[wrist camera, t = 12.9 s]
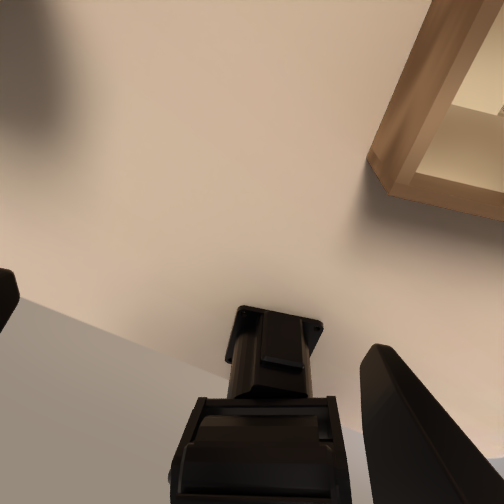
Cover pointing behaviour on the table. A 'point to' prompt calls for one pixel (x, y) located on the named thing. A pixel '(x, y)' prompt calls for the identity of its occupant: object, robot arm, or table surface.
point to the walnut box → (449, 113)
